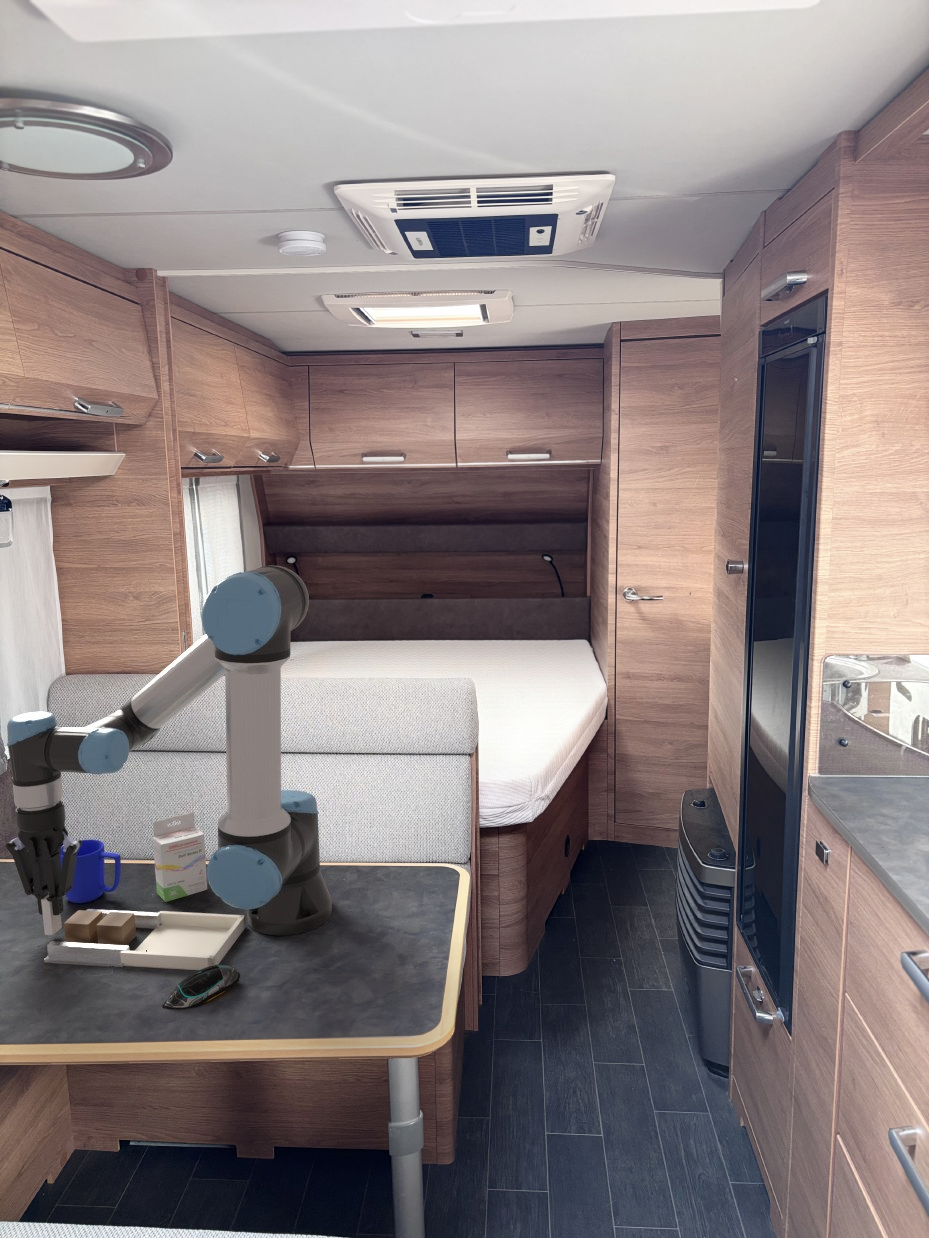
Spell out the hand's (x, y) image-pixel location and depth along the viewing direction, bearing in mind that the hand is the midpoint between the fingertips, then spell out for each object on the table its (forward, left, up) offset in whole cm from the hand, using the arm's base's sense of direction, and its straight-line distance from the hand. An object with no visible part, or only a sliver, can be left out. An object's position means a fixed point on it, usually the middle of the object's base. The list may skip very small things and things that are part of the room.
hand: (53, 930), depth 155 cm
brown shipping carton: (-6, 0, -2) cm, 6 cm away
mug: (+1, -15, -2) cm, 15 cm away
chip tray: (-24, 0, -2) cm, 24 cm away
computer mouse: (-33, +13, -2) cm, 36 cm away
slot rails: (-10, 0, -2) cm, 10 cm away
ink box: (-15, -19, -2) cm, 24 cm away
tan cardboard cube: (-12, 0, -2) cm, 12 cm away
